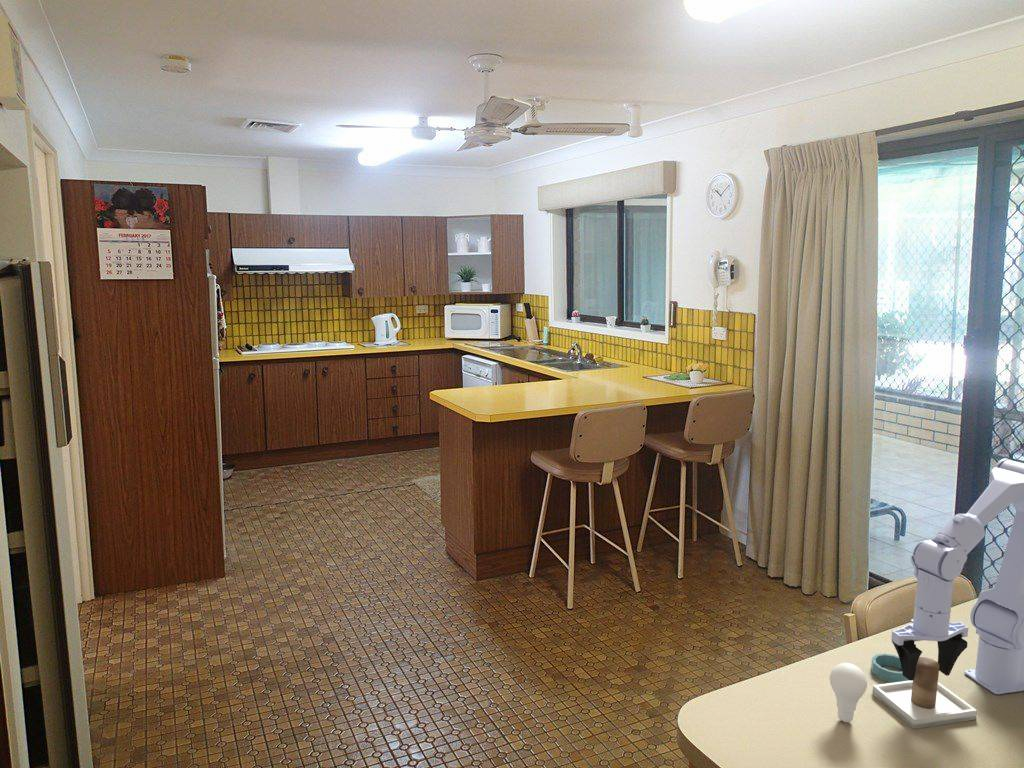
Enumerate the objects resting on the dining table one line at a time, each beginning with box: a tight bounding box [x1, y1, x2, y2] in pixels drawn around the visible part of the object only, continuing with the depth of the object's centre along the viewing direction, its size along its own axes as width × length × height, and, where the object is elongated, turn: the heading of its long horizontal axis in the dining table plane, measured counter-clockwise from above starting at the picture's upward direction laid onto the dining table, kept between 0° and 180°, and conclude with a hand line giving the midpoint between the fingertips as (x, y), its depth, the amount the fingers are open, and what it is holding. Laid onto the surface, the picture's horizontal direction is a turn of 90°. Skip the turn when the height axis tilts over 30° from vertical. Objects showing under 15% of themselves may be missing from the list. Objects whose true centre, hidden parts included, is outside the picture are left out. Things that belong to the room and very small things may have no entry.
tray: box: [871, 680, 978, 730], centre depth 141 cm, size 13×11×2 cm
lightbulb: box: [829, 662, 868, 723], centre depth 135 cm, size 6×6×11 cm
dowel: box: [911, 656, 940, 709], centre depth 140 cm, size 4×4×8 cm
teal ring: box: [870, 653, 909, 683], centre depth 152 cm, size 7×7×2 cm
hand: (926, 675), depth 140 cm, fingers open, 7 cm apart
